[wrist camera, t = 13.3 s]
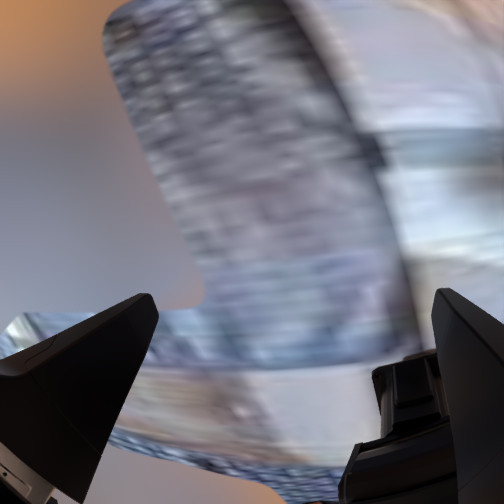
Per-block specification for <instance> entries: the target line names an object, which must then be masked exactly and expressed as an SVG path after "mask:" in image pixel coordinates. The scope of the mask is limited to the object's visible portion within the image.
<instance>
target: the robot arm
mask: <svg viewBox="0 0 504 504" xmlns="http://www.w3.org/2000/svg"><path fill="white" fill-rule="evenodd" d="M431 318H432V325H433V331H434V337H435V343H436V350H437V353H435V354H432V355H428V356H425V357H421V358H418V359H414V360H410V361H406V362H403V363H399V364H395V365H390V366H386V367H382V368H378V369H375V370H373V371H372V380H373V384H374V389H375V393H376V397H377V402H378V406H379V410H380V415H381V439H377V440H374V441H370V442H366V443H363V442H362V443H358V444H355V446H354V449H353V451H352V454H351V456H350V459H349V461H348V464H347V466H346V468H345V471H344V473H343V475H342V478H341V481H340V483H339V485H338V491H339V493H338V499H339V502H340V504H504V324H502V323H501V322H500V321H498V320H497V319H495V318H494V317H493V316H491V315H490V314H488V313H487V312H485V311H484V310H482V309H481V308H479V307H478V306H477V305H475V304H474V303H472V302H471V301H469V300H468V299H466V298H465V297H463V296H461V295H460V294H458V293H457V292H455V291H454V290H452V289H451V288H439V289H437V290H436V293H435V297H434V303H433V308H432V313H431ZM158 319H159V314H158V311H157V308H156V305H155V303H154V300H153V297H152V296H151V295H150V294H148V293H139V294H137V295H135V296H133V297H131V298H129V299H127V300H124V301H123V302H120V303H118V304H116V305H114V306H112V307H110V308H108V309H106V310H104V311H102V312H100V313H98V314H96V315H94V316H92V317H90V318H88V319H86V320H84V321H82V322H80V323H78V324H76V325H74V326H72V327H70V328H68V329H66V330H64V331H62V332H60V333H58V335H57V334H56V335H54V336H52V337H50V338H48V339H46V340H44V341H42V342H40V343H38V344H35V345H33V346H31V347H29V348H27V349H24V350H22V351H20V352H17V353H15V354H13V355H10V356H8V357H6V358H4V359H1V360H0V504H58V503H57V500H56V499H54V498H53V497H52V496H51V495H52V493H53V492H54V490H55V488H56V489H58V490H59V491H61V492H62V493H64V494H65V495H67V496H68V497H70V498H71V499H73V500H75V501H76V502H78V503H79V504H83V502H84V500H85V497H86V495H87V492H88V490H89V487H90V484H91V482H92V479H93V477H94V474H95V472H96V469H97V466H98V464H99V461H100V459H101V455H102V454H103V451H104V448H105V446H106V444H107V441H108V439H109V437H110V434H111V432H112V430H113V427H114V425H115V423H116V420H117V418H118V416H119V413H120V411H121V409H122V406H123V404H124V402H125V400H126V397H127V395H128V393H129V391H130V389H131V386H132V384H133V382H134V380H135V378H136V375H137V373H138V371H139V369H140V367H141V365H142V362H143V360H144V358H145V356H146V353H147V350H148V348H149V345H150V342H151V339H152V336H153V334H154V331H155V328H156V325H157V323H158ZM376 374H380V375H376Z"/></svg>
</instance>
